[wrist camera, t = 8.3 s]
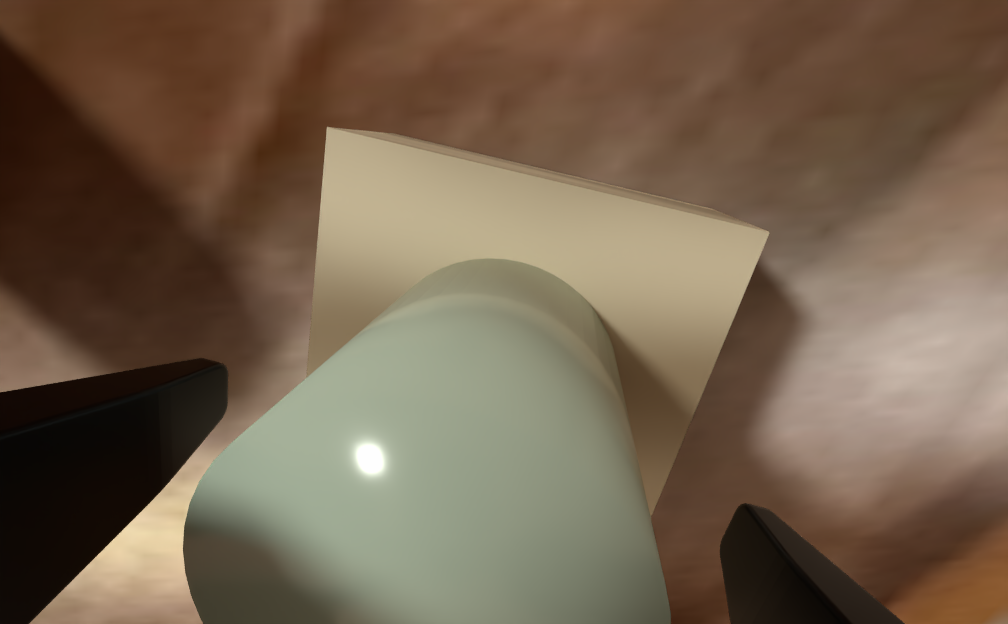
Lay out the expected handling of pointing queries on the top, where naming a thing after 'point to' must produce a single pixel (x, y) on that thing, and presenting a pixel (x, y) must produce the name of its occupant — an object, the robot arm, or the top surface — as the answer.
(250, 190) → the top surface
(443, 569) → the grey-green rounded piece
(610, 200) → the beech block
